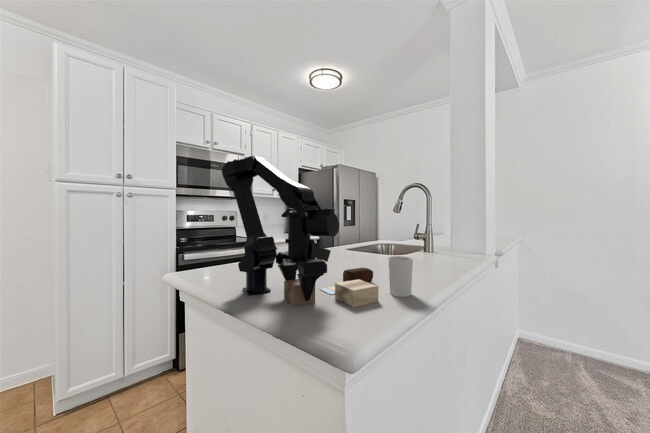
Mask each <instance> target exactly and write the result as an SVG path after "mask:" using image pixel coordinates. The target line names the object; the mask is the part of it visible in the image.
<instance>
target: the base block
mask: <svg viewBox="0 0 650 433" xmlns="http://www.w3.org/2000/svg"><path fill="white" fill-rule="evenodd" d="M334 286H335V294H334V298H335V299H336V300H338V301H340V302H342V303H344V304H346V305H348V306H350V307H352V308H356V307H360V306H364V305H369V304H373V303H377V302H379V285H377V284H373V283H372V282H370V283H368V282H365V281H362V280H359V279H358V280H352V281H345V282H343V281H340V282H335V283H334Z"/></svg>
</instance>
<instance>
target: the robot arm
mask: <svg viewBox="0 0 650 433" xmlns="http://www.w3.org/2000/svg"><path fill="white" fill-rule="evenodd" d="M221 174H222V177H223V180H224V182H225V184H226V186H227V187H228V188H229V189H230V190H231V191H232V192H233V193H234V198H235V201H236V204H237V208H238V211H239V214H240V219H241V221H242V225H243V228H244V233H245V235H246V239H245V243H244V248H243V249H244V256H242V258H241V260H239V262H238V264H237V265H238V271H239V272H243V273H245V275H246V276H245V280H246V282H245V287H242V290H243V292H244V293H245V294H247V295H248V296H249V295H250V296H252V295H256V294H257V295H258V294H264V293H269V292H271V289H270V288H269V287H267V285H268V284H267V281H268V280H267V274H268V273H267V271H268V269H273V267H274V264H277V266H278V268H279V270H280V273H281V275H282V276H283V278H284V281H287V280H294V279H299V282H300V285H301V289H302V292H303V295H304V298H305V300H306V301H309V300H310V298H311V295H312V292H313V288H314V285H315V286H316V282H317V280H318V279H319V278H320V277H322V276H324V275H325V274H327V273H328V264H327V263H328V262H329V258H330V255H331V252H332V250H330V249H328V248H325V247H322V246H320V243H317V242H316V241H315V240H314V239H313V238H311V236H312V237H328V238H335V237H336V236H337V234H338V232H339V229H340V222H339V218H338V216H337V215H336V213H335V212H336V210H335V208H328V207H327V208H324V209H323V208H322V207H321V206H320V204H319V203H318V201H317V199H316V197H315V192H314V190H313V189H312V188H310V187H309V186H306V185H304V184H303V183H299V182H296V181H293V180H291V179H290V178H288V177H287V176H286V174H285V175H284V174H283V173H282V172H281V171H279V170H278V169H277V168H276V167H274V166H273V165H272V164H270V163H269V162H268V161H266V159H265V158H263V157H259V156H255V155H251V156H248V157H245V158H239V159H235V160H232V161H231V160H230V161H227V162H225V163H224V165H223V166H222V168H221ZM256 177H259V178H261V179H262V180H263V181H265V182H266V184H268V185H269V186H271V188H273V189H274V190H275V191H276V192H277V193H278V197H279V198H280V200H281V201H282V202H283V203H284V205H285V207H287V208H286V210H284V212H283V213H281V216H280V217H281V218H287V226H288V227H287V228H288V229H287V233H288V234H287V238H285V239H284V240H285V241H284V242H285V244H287V246H288V247H287V249H288V250H287V251H286V252H285V251H284V252H278V253H277V250H278V247H277V246H276V244H275V243H276V242H275V239H274V237H273V236H271V235H270V236H267V234H266V233H265V232H264V229H263V225H262V221H261V218H260V215H259V212H258V211H259V210H258V209H257V206H256V205H257V204H256V202H255V199H254V195H253V192H252V187H253V186H252V185H253V182H254V178H256ZM297 272H298V273H297Z"/></svg>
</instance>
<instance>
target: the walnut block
mask: <svg viewBox="0 0 650 433" xmlns="http://www.w3.org/2000/svg"><path fill="white" fill-rule="evenodd" d="M283 299H284V301H286V302H287V303H288V304H290V305H291V306H292V307H295V306H302V305H307V304H312V303H316V284H315V285H314V288H313V292H312V295H311V298H310V300H309V301H306V300H305V298H304V295H303V292H302V289H301V285H300V282H299V279H298V278H296V279H294V280H287V281H285V280H283Z"/></svg>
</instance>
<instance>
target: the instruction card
mask: <svg viewBox="0 0 650 433" xmlns="http://www.w3.org/2000/svg"><path fill="white" fill-rule="evenodd" d="M319 290H320V291H321V292H324V293H326V294H328V295H330V296H333V295H335V285H334V286H329V287H323V288H319Z"/></svg>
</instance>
